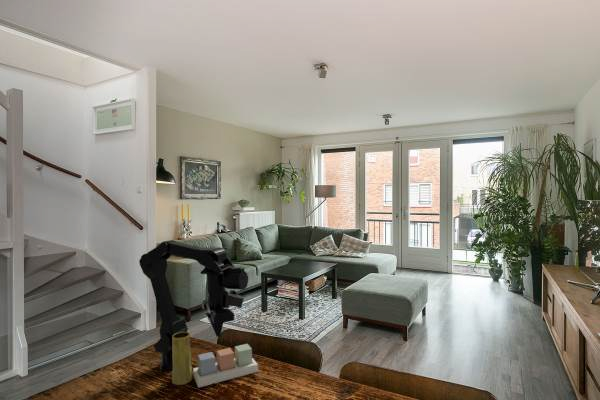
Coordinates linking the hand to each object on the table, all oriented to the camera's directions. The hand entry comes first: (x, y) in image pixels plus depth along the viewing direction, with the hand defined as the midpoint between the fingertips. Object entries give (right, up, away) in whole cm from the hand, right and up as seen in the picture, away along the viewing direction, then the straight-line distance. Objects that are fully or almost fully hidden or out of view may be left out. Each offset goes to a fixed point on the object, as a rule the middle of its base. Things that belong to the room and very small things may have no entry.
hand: (218, 336), depth 112 cm
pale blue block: (-3, -10, -2) cm, 11 cm away
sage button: (+8, -10, +3) cm, 13 cm away
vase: (-11, -13, -3) cm, 17 cm away
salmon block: (+2, -10, +1) cm, 10 cm away
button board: (+2, -12, +1) cm, 13 cm away
